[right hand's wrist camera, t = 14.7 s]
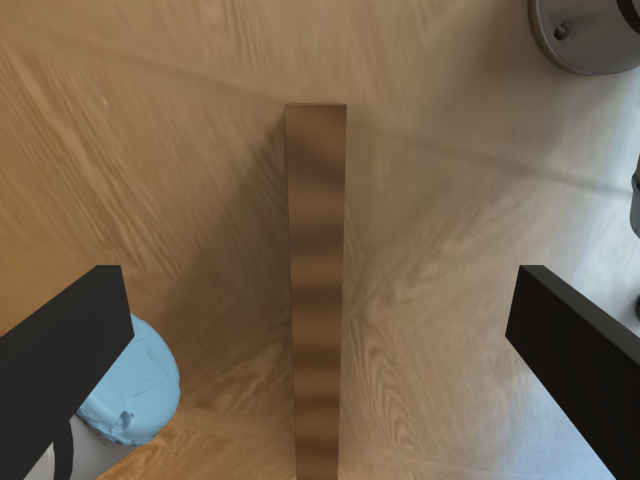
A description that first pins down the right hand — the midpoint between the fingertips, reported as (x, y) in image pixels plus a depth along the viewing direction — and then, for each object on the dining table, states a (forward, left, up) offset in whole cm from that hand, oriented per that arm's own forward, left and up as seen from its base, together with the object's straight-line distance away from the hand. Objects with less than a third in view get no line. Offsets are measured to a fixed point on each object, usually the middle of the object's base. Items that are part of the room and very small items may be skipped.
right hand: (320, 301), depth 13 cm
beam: (-2, +20, -30) cm, 36 cm away
